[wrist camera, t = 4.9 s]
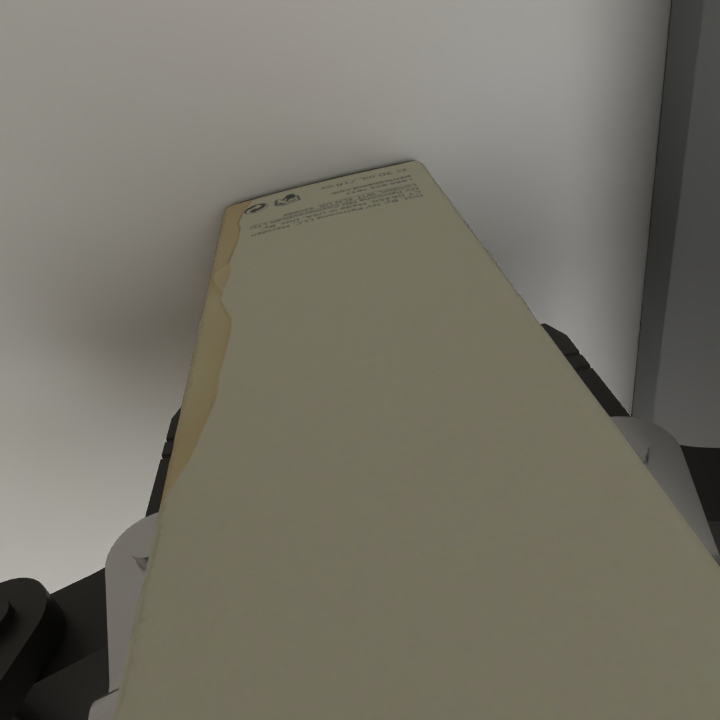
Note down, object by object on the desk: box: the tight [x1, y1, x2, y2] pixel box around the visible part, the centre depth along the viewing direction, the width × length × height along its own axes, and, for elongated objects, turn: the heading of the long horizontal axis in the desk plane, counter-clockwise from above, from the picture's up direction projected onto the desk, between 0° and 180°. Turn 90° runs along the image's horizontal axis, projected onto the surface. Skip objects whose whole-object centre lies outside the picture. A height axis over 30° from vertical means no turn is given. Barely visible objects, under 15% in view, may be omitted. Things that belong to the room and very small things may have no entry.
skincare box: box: [112, 161, 720, 720], centre depth 9 cm, size 6×4×12 cm
